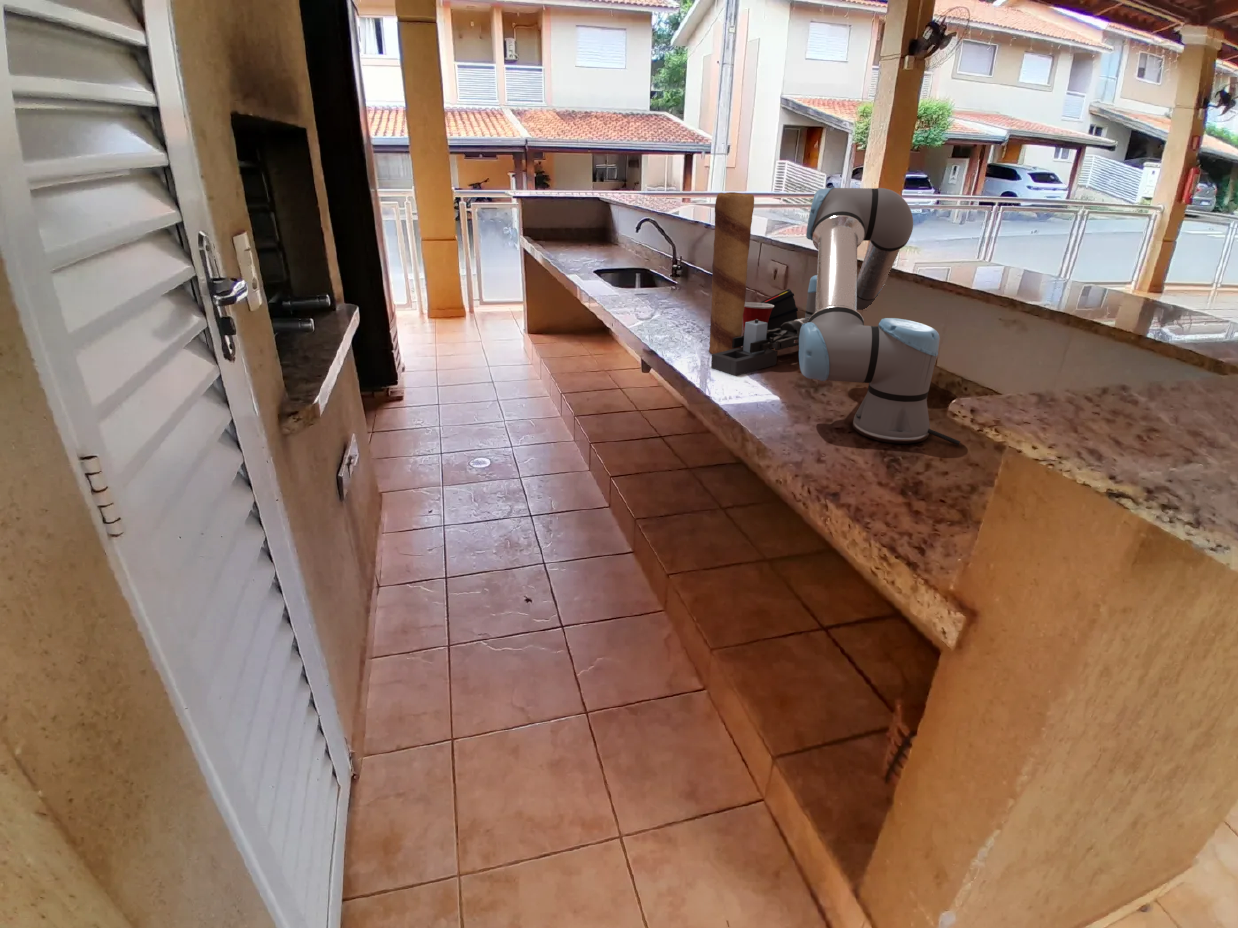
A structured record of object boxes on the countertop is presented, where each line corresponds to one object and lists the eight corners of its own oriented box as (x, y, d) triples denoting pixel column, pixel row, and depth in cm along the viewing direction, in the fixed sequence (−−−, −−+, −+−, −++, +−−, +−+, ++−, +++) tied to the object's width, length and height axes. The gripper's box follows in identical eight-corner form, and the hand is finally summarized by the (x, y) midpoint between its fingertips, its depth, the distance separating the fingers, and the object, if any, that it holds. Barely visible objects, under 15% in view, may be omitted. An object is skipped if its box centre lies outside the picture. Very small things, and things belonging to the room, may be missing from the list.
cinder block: (776, 364, 177) (777, 351, 175) (735, 375, 168) (736, 361, 166) (751, 357, 184) (752, 344, 182) (711, 367, 175) (711, 354, 173)
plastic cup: (775, 338, 203) (779, 302, 198) (763, 346, 195) (767, 308, 190) (744, 334, 209) (747, 298, 203) (732, 341, 200) (734, 304, 195)
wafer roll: (712, 346, 196) (721, 192, 176) (744, 349, 192) (758, 192, 172) (701, 354, 187) (710, 193, 167) (735, 358, 183) (748, 194, 163)
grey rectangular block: (763, 364, 178) (768, 320, 172) (753, 367, 175) (757, 322, 170) (752, 360, 181) (756, 317, 175) (741, 363, 178) (745, 319, 173)
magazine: (807, 331, 205) (792, 290, 199) (769, 348, 208) (754, 307, 202) (804, 328, 208) (789, 288, 203) (767, 345, 211) (752, 305, 205)
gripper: (820, 352, 180) (766, 366, 167) (769, 339, 193) (717, 351, 181) (823, 326, 176) (769, 339, 164) (772, 315, 190) (718, 325, 178)
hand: (742, 345), depth 173 cm, fingers open, 6 cm apart
